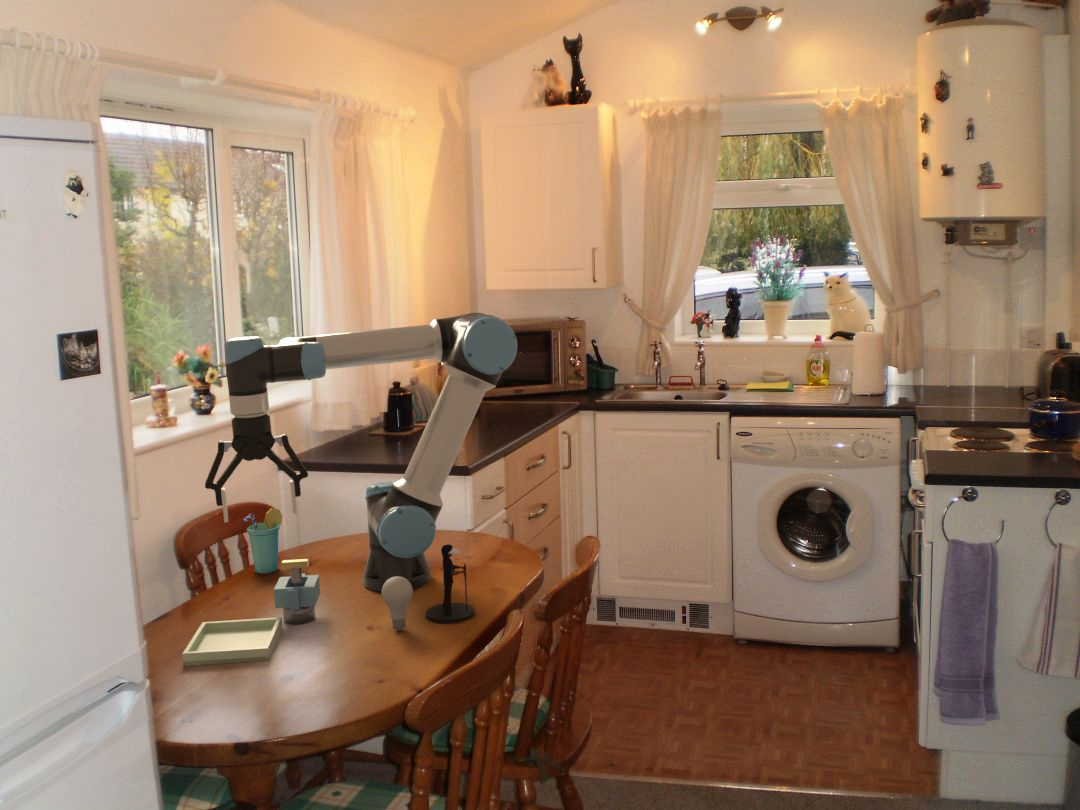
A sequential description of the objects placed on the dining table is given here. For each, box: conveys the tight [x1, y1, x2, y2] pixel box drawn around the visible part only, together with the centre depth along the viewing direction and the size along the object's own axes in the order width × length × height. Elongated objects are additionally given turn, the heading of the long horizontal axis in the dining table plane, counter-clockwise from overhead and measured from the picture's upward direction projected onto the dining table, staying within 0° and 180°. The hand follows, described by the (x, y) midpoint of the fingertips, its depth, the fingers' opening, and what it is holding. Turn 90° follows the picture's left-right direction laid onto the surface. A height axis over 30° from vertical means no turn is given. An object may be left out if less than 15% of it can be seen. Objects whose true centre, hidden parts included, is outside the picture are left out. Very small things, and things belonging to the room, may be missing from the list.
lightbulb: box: [381, 576, 414, 631], centre depth 217 cm, size 6×6×11 cm
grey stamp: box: [281, 558, 316, 626], centre depth 225 cm, size 6×6×12 cm
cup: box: [241, 508, 283, 574], centre depth 259 cm, size 14×8×15 cm, turn 162°
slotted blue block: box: [273, 572, 321, 610], centre depth 225 cm, size 11×8×4 cm
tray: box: [181, 616, 283, 667], centre depth 212 cm, size 16×17×2 cm
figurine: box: [425, 544, 476, 625], centre depth 224 cm, size 10×10×15 cm
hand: (260, 516), depth 224 cm, fingers open, 13 cm apart
